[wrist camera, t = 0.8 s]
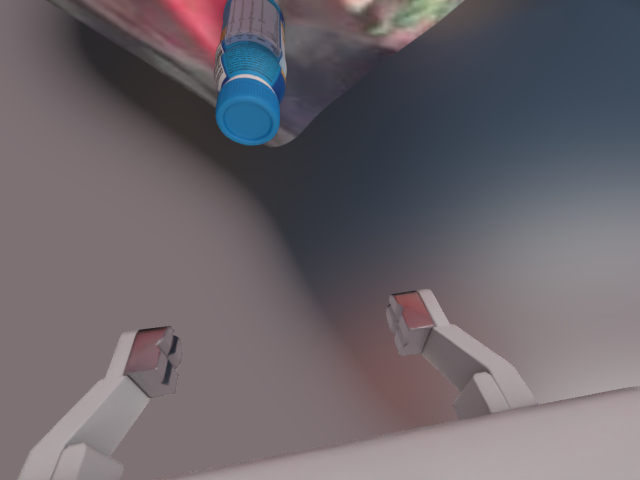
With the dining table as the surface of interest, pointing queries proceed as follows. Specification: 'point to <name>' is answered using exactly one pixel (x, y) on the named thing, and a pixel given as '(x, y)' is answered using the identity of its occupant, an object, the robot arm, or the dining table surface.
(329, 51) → the dining table surface
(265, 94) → the beverage bottle
